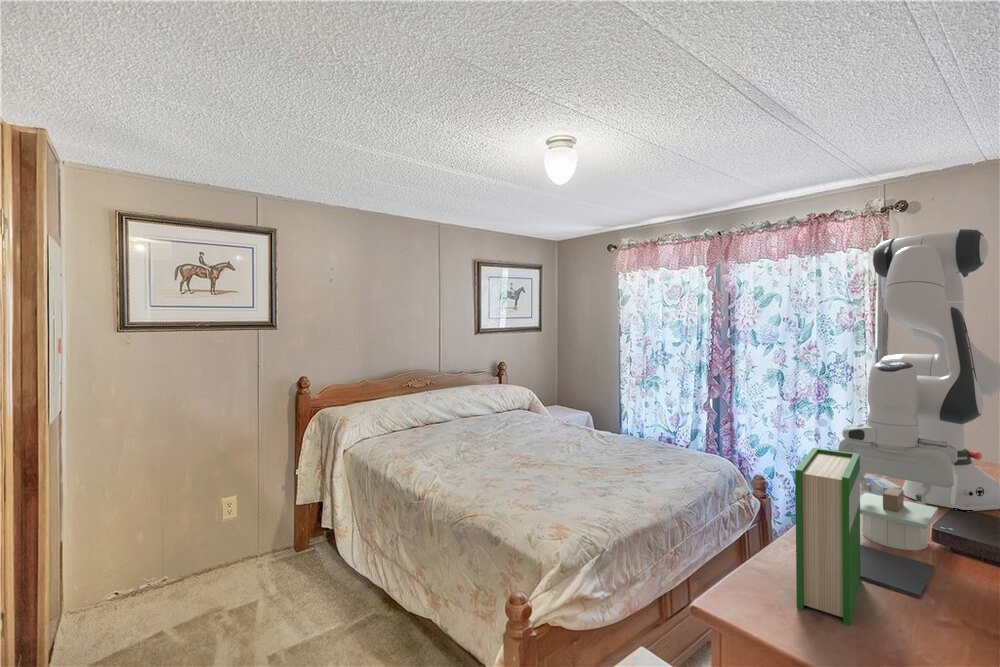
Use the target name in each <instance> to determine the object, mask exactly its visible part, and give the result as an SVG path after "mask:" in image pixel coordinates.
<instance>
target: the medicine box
mask: <svg viewBox="0 0 1000 667" xmlns="http://www.w3.org/2000/svg"><path fill="white" fill-rule="evenodd" d="M864 478H865V480H866V481H867V483H871V492H870V494H875V495H879V496H883V493H884V492H885V491H886V490H887V489H888V488H889V487H891V488H896V489H902V488H903V487H901V486H900V485H897V484H896V483H894V482H892V481H890V480H889V479H886V478H884V477H873V476H872V477H864ZM902 490H903V489H902ZM864 493H869V492H864Z"/></svg>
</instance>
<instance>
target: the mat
mask: <svg viewBox="0 0 1000 667" xmlns="http://www.w3.org/2000/svg"><path fill="white" fill-rule="evenodd" d="M935 569H936V565H934V564H931V563H928V562H923V561H920V560H917V559H913V558H910V557H906V556H903V555H900V554H896V553H893V552H888V551H885V550H881V549H878V548H875V547H871V546H867V545H864V544H861V543H860V576H861V580H862V581H866V582H870V583H872V584H875V585H878V586H881V587H885V588H888V589H890V590H893V591H897V592H900V593H903V594H906V595H908V596H911V597H915V598H918V599H920V598H921V596H922V594H923V592H924V591H925V588H926V587H927V585H928V582H929V581H930V578H931V576H932V575H933V573H934V571H935Z"/></svg>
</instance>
